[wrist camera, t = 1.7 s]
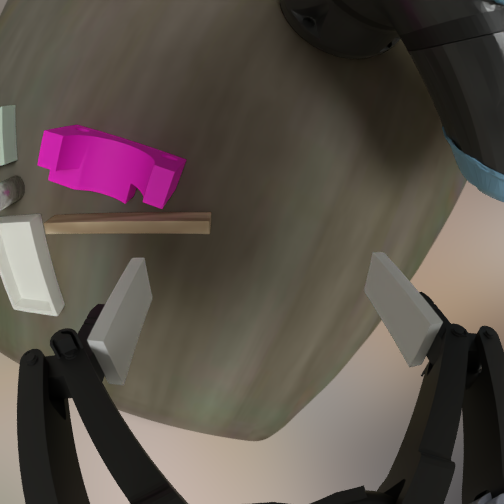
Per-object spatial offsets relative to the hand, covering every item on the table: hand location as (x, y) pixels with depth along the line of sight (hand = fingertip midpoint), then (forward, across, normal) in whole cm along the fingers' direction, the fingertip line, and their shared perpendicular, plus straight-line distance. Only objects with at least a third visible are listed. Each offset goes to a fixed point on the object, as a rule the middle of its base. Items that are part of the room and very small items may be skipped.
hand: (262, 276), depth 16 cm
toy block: (+19, -15, +4) cm, 25 cm away
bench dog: (+19, -33, +3) cm, 38 cm away
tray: (+19, -34, -9) cm, 40 cm away
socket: (+19, -36, +11) cm, 42 cm away
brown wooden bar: (+19, -15, -3) cm, 24 cm away
